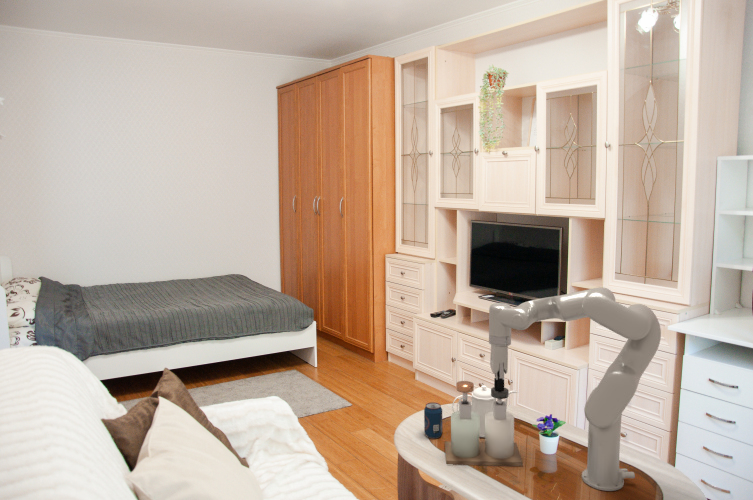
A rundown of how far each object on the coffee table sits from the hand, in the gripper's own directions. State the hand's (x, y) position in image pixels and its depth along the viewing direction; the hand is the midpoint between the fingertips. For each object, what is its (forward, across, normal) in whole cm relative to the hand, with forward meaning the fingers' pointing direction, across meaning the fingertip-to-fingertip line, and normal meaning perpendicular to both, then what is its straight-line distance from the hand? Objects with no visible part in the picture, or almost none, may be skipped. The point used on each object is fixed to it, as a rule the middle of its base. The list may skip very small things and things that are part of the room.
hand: (499, 389), depth 195 cm
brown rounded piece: (+6, 0, -12) cm, 13 cm away
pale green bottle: (+23, 0, -12) cm, 26 cm away
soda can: (+25, -15, -23) cm, 37 cm away
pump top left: (+8, 0, 0) cm, 8 cm away
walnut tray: (+24, 0, -6) cm, 25 cm away
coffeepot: (+25, -18, -3) cm, 31 cm away
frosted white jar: (+23, 0, 0) cm, 23 cm away
